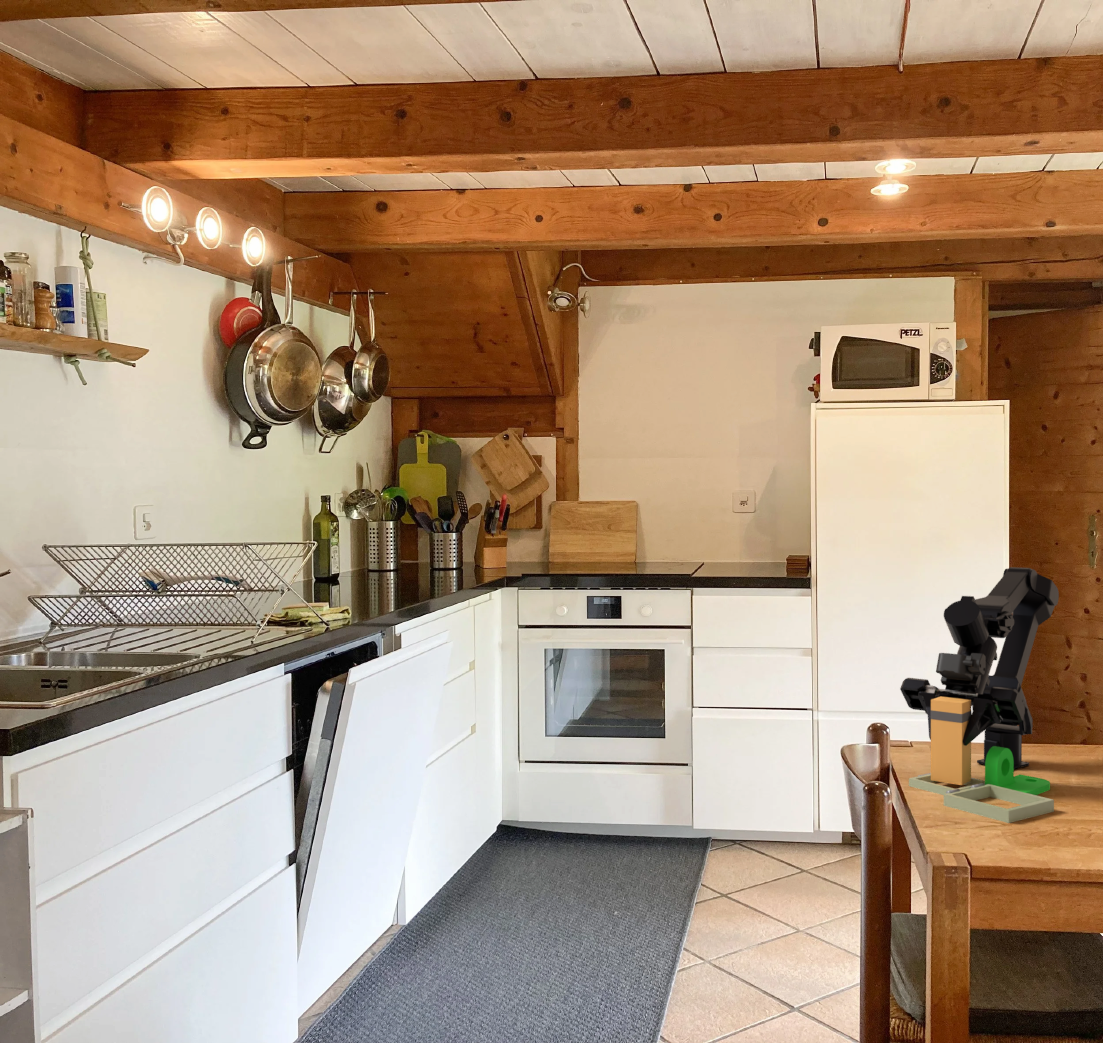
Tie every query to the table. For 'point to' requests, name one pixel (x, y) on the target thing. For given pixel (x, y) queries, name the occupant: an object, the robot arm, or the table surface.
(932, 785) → the lid
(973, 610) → the robot arm
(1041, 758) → the table surface
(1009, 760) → the mechanical part
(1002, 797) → the case
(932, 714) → the block
